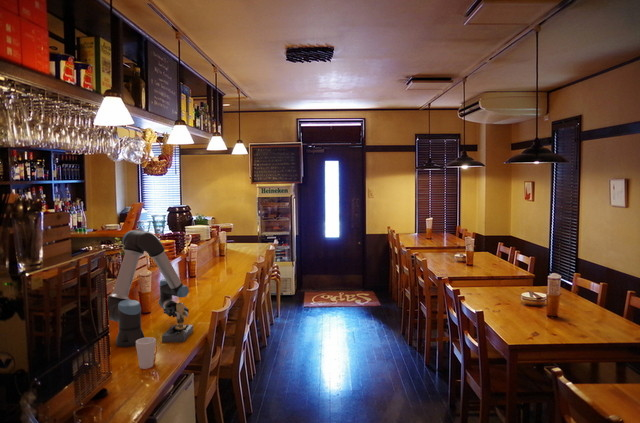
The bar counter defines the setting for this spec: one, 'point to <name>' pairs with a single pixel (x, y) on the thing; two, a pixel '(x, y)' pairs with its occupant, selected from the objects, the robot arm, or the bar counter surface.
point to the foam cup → (146, 351)
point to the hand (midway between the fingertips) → (183, 315)
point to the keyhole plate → (177, 334)
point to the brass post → (180, 321)
